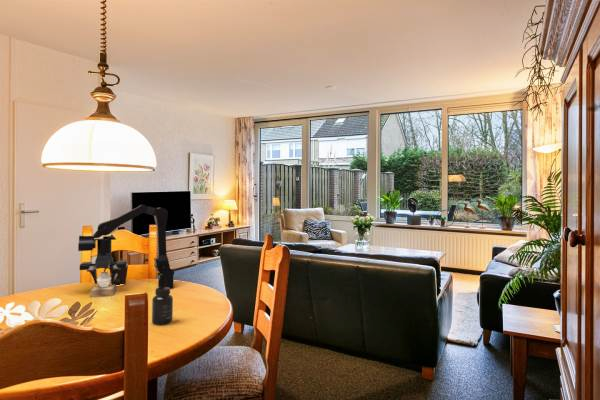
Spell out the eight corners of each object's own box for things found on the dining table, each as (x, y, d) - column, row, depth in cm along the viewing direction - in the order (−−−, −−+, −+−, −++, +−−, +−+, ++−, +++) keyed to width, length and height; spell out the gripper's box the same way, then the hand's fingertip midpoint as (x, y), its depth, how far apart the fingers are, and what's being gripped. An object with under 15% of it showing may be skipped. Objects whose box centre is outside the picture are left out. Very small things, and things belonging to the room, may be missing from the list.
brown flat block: (115, 291, 171) (116, 284, 171) (113, 295, 162) (113, 288, 162) (94, 292, 168) (94, 285, 168) (90, 297, 159) (90, 289, 159)
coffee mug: (131, 284, 185) (131, 265, 186) (115, 287, 178) (115, 267, 178) (118, 281, 192) (118, 262, 192) (102, 284, 184) (102, 265, 184)
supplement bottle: (147, 323, 126) (148, 288, 126) (164, 318, 132) (165, 285, 132) (159, 327, 122) (160, 291, 122) (176, 321, 128) (177, 287, 128)
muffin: (94, 286, 165) (94, 271, 165) (108, 284, 170) (108, 269, 170) (99, 289, 161) (99, 273, 161) (113, 286, 165) (114, 271, 166)
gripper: (76, 253, 155) (76, 289, 154) (124, 251, 161) (124, 286, 161) (82, 249, 165) (82, 283, 165) (127, 248, 171) (127, 281, 171)
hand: (104, 283), depth 165 cm, fingers closed on muffin, 6 cm apart
